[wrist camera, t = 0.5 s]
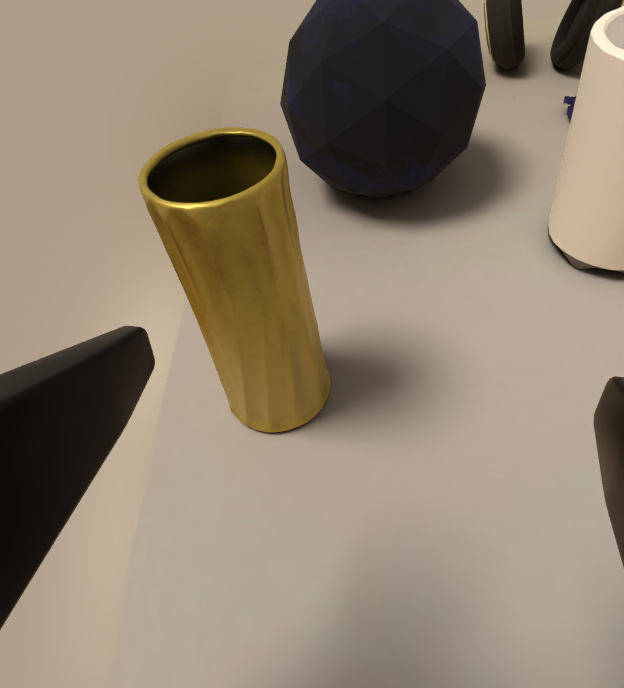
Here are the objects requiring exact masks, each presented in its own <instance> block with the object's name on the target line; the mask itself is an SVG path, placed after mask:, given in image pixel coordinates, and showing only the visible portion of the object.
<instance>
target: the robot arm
mask: <svg viewBox="0 0 624 688" xmlns="http://www.w3.org/2000/svg"><path fill="white" fill-rule="evenodd" d="M154 365H155V359H154V355H153V351H152V348H151V345H150V341H149V338H148V334H147V332H146V331H145V329H143V328H141V327H133V326H123V327H121V328H118V329H116V330H113V331H110V332H108V333H105V334H103V335H100V336H98V337H95V338H92V339H90V340H87V341H85V342H82V343H80V344H77V345H74V346H72V347H70V348H67V349H64V350H62V351H59V352H57V353H54V354H51V355H49V356H46V357H44V358H41V359H39V360H36V361H34V362H31V363H28V364H26V365H23V366H21V367H18V368H15V369H13V370H10V371H8V372H5V373H3V374H0V629H1V628H2V626H3V625H4V623H5V621H6V620H7V618H8V617H9V615H10V613H11V612H12V610H13V608H14V607H15V605H16V604H17V602H18V600H19V599H20V597H21V595H22V594H23V592H24V590H25V589H26V587H27V586H28V584H29V582H30V581H31V579H32V578H33V576H34V574H35V573H36V571H37V570H38V568H39V566H40V565H41V563H42V561H43V560H44V558H45V556H46V555H47V553H48V552H49V550H50V549H51V547H52V545H53V544H54V542H55V540H56V539H57V537H58V536H59V534H60V532H61V531H62V529H63V527H64V526H65V524H66V523H67V521H68V519H69V518H70V516H71V515H72V513H73V511H74V510H75V508H76V507H77V505H78V503H79V502H80V500H81V498H82V497H83V495H84V494H85V492H86V490H87V489H88V487H89V485H90V483H91V482H92V480H93V479H94V477H95V476H96V474H97V473H98V471H99V469H100V468H101V466H102V464H103V463H104V461H105V460H106V458H107V456H108V455H109V453H110V452H111V450H112V448H113V447H114V445H115V443H116V442H117V440H118V439H119V437H120V435H121V434H122V432H123V430H124V428H125V427H126V425H127V423H128V421H129V419H130V417H131V415H132V413H133V411H134V409H135V407H136V405H137V402H138V401H139V398H140V396H141V394H142V392H143V390H144V388H145V386H146V384H147V382H148V380H149V378H150V376H151V373H152V371H153V369H154ZM594 430H595V436H596V443H597V450H598V457H599V463H600V470H601V477H602V484H603V490H604V496H605V501H606V506H607V510H608V513H609V517H610V521H611V524H612V528H613V531H614V535H615V538H616V542H617V545H618V549H619V552H620V556H621V560H622V563H623V567H624V377H612V378H610V379H609V381H608V382H607V384H606V386H605V389H604V391H603V393H602V396H601V398H600V401H599V403H598V406H597V408H596V411H595V414H594Z"/></svg>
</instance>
